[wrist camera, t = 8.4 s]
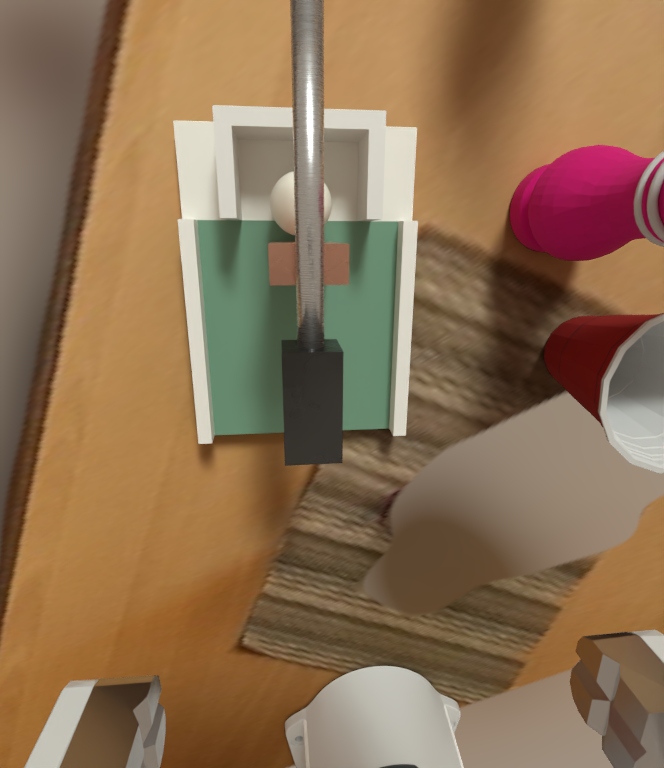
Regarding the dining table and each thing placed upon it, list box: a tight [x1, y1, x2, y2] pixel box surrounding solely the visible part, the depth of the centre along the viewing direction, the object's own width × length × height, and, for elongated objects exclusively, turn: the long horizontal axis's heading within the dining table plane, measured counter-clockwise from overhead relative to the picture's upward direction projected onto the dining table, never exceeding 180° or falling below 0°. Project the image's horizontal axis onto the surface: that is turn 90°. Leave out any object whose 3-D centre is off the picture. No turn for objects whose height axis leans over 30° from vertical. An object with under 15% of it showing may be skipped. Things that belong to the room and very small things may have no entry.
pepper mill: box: [510, 145, 664, 261], centre depth 26 cm, size 7×7×20 cm
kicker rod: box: [268, 0, 349, 466], centre depth 26 cm, size 23×4×12 cm, turn 0°
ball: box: [270, 171, 332, 236], centre depth 30 cm, size 4×4×4 cm
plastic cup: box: [544, 313, 664, 473], centre depth 33 cm, size 11×11×12 cm
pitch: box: [173, 105, 418, 444], centre depth 32 cm, size 22×16×6 cm
